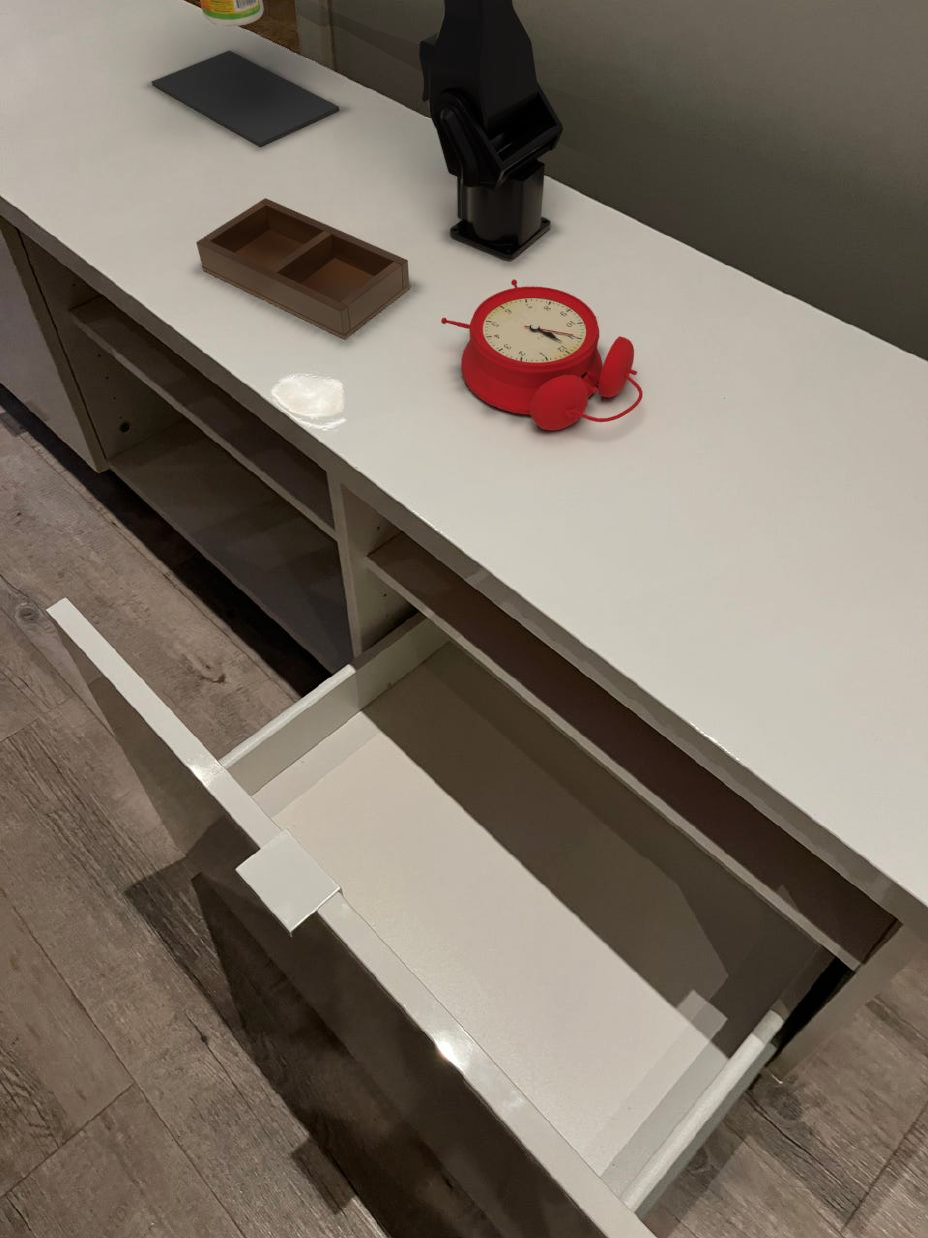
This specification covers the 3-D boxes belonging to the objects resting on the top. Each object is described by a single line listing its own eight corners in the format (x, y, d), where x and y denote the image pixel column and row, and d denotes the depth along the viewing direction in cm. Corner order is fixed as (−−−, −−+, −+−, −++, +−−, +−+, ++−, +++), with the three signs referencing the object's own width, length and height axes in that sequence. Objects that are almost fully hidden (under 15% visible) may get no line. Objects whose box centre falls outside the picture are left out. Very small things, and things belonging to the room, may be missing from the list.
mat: (339, 110, 92) (339, 106, 92) (260, 147, 88) (259, 142, 88) (230, 53, 100) (229, 49, 99) (152, 85, 95) (151, 81, 95)
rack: (270, 226, 80) (265, 197, 78) (409, 288, 75) (408, 259, 73) (203, 270, 76) (195, 241, 74) (344, 339, 71) (340, 310, 69)
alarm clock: (524, 261, 70) (679, 310, 61) (532, 337, 75) (679, 393, 66) (420, 318, 66) (571, 380, 57) (435, 394, 71) (577, 463, 62)
